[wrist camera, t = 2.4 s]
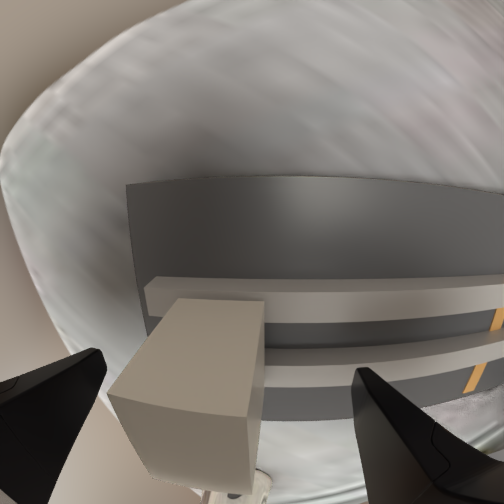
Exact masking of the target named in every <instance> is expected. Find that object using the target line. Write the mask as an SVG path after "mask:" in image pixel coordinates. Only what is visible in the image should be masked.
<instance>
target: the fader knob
mask: <svg viewBox="0 0 504 504" xmlns="http://www.w3.org/2000/svg"><path fill="white" fill-rule="evenodd" d="M107 395H108V398H109V400H110V402H111V404H112V406H113V408H114V411H115V413H116V415H117V417H118V419H119V421H120V423H121V425H122V427H123V429H124V431H125V432H126V434H127V436H128V438H129V440H130V442H131V443H132V445H133V447H134V449H135V451H136V452H137V454H138V456H139V457H140V459H141V461H142V462H143V464H144V465H145V467H146V469H147V470H148V472H149V473H150V475H151V476H152V478H153V479H156V480H160V481H164V482H168V483H172V484H176V485H181V486H186V487H191V488H196V489H202V490H208V491H214V492H222V493H230V494H240V495H252V491H253V483H254V475H255V467H256V459H257V451H258V443H259V434H260V425H261V416H262V407H263V397H264V301H234V300H207V299H186V298H178V299H177V300H176V302H175V303H174V304H173V305H172V307H171V308H170V309H169V311H168V312H167V313H166V315H165V316H164V317H163V318H162V320H161V321H160V322H159V324H158V325H157V326H156V327H155V329H154V330H153V331H152V333H151V334H150V335H149V337H148V338H147V339H146V341H145V342H144V343H143V345H142V346H141V347H140V349H139V350H138V351H137V353H136V354H135V355H134V357H133V358H132V359H131V361H130V362H129V363H128V365H127V366H126V367H125V369H124V370H123V371H122V373H121V374H120V375H119V377H118V378H117V379H116V381H115V382H114V384H113V385H112V386H111V388H110V389H109V390H108V392H107Z"/></svg>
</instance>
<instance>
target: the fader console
mask: <svg viewBox="0 0 504 504" xmlns="http://www.w3.org/2000/svg"><path fill="white" fill-rule="evenodd" d="M126 194H127V207H128V218H129V228H130V237H131V245H132V253H133V260H134V267H135V273H136V280H137V286H138V291H139V297H140V302H141V307H142V312H143V317H144V322H145V327H146V331H147V336H148V337H149V335H150V334H151V333H152V331H153V330H154V329H155V327H156V326H157V325H158V324H159V322H160V321H161V320H162V318H163V317H164V316H165V315H166V313H167V312H168V311H169V309H170V308H171V307H172V305H173V304H174V303H175V302H176V300H177V299H178V298H186V299H207V300H234V301H264V397H263V407H262V416H261V420H262V421H320V420H337V419H350V418H354V417H353V406H352V397H351V385H352V381H353V377H354V373H355V370H356V368H358V367H369V368H370V369H372V370H373V371H374V372H375V373H377V374H378V375H379V376H380V377H381V378H383V379H384V380H385V381H386V382H388V383H389V384H390V385H391V386H393V387H394V388H395V389H396V390H397V391H399V392H400V393H401V394H402V395H404V396H405V397H406V398H407V399H409V400H410V401H411V402H412V403H414V404H415V405H416V406H417V407H419V408H423V407H427V406H432V405H436V404H440V403H444V402H448V401H452V400H455V399H459V398H462V397H466V396H469V395H472V394H475V393H478V392H481V391H484V390H487V389H490V388H493V387H496V386H498V385H501V384H503V383H504V195H502V194H497V193H491V192H485V191H479V190H473V189H466V188H459V187H452V186H445V185H436V184H428V183H419V182H409V181H397V180H385V179H371V178H354V177H330V176H236V177H212V178H194V179H179V180H167V181H155V182H145V183H137V184H130V185H126Z"/></svg>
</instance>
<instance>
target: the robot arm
mask: <svg viewBox="0 0 504 504" xmlns="http://www.w3.org/2000/svg"><path fill="white" fill-rule="evenodd" d="M106 372H107V365H106V362H105V360H104V357H103V354H102V351H101V350H100V349H96V348H88V349H86V350H84V351H81V352H79V353H76V354H74V355H71V356H69V357H66V358H64V359H61V360H58V361H56V362H53V363H51V364H48V365H46V366H43V367H40V368H38V369H36V370H33V371H30V372H27V373H25V374H22V375H20V376H17V377H14V378H12V379H9V380H6V381H3V382H0V504H48V502H49V499H50V497H51V494H52V491H53V489H54V487H55V484H56V481H57V479H58V477H59V475H60V473H61V470H62V468H63V466H64V463H65V461H66V459H67V457H68V455H69V453H70V451H71V449H72V446H73V444H74V442H75V440H76V438H77V436H78V434H79V432H80V430H81V428H82V426H83V424H84V422H85V420H86V418H87V416H88V414H89V412H90V410H91V408H92V406H93V404H94V402H95V399H96V397H97V395H98V392H99V390H100V387H101V385H102V382H103V380H104V377H105V375H106ZM351 397H352V406H353V417H354V427H355V434H356V439H357V443H358V448H359V453H360V458H361V463H362V468H363V473H364V479H365V484H366V490H367V496H368V502H369V504H504V462H502V461H498V460H495V459H493V458H490V457H489V456H487V455H486V454H484V453H482V452H481V451H479V450H477V449H475V448H474V447H472V446H470V445H469V444H467V443H465V442H464V441H462V440H461V439H459V438H458V437H456V436H455V435H453V434H452V433H451V432H449V431H448V430H446V429H445V428H444V427H443V426H441V425H440V424H439V423H437V422H435V420H434V419H432V418H431V417H430V416H429V415H427V414H426V413H425V412H424V411H422V410H421V409H420V408H419V407H417V406H416V405H415V404H414V403H412V402H411V401H410V400H409V399H407V398H406V397H405V396H404V395H402V394H401V393H400V392H399V391H397V390H396V389H395V388H394V387H393V386H391V385H390V384H389V383H388V382H386V381H385V380H384V379H383V378H381V377H380V376H379V375H378V374H377V373H375V372H374V371H373V370H372V369H370V368H369V367H358V368H356V370H355V373H354V377H353V381H352V385H351Z"/></svg>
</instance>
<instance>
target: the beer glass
mask: <svg viewBox="0 0 504 504" xmlns="http://www.w3.org/2000/svg"><path fill="white" fill-rule="evenodd" d="M271 486H272V480H271V478H270V477H269V476H268V475H267V474H265V473H264V472H262V471H259V470H257V469H255V475H254V483H253V491H252V495H240V494H230V493H222V492H214V491H208V490H202V497H201V502H200V504H266V502H267V498H268V496H269V493H270V490H271Z"/></svg>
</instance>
